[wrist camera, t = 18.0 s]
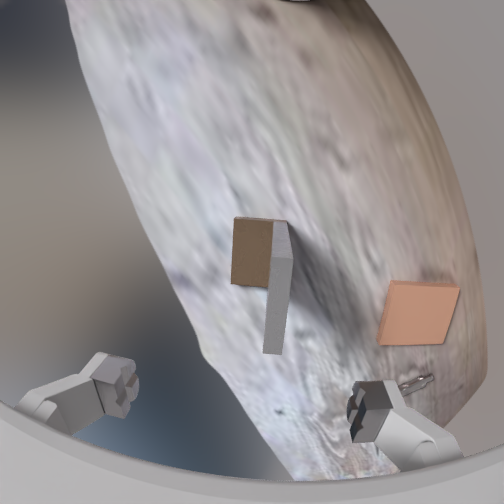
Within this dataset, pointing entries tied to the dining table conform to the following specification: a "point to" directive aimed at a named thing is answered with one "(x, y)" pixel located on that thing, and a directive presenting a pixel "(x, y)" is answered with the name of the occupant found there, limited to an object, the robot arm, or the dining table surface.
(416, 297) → the tile
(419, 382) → the micrometer
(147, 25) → the dining table surface
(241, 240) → the bookend
